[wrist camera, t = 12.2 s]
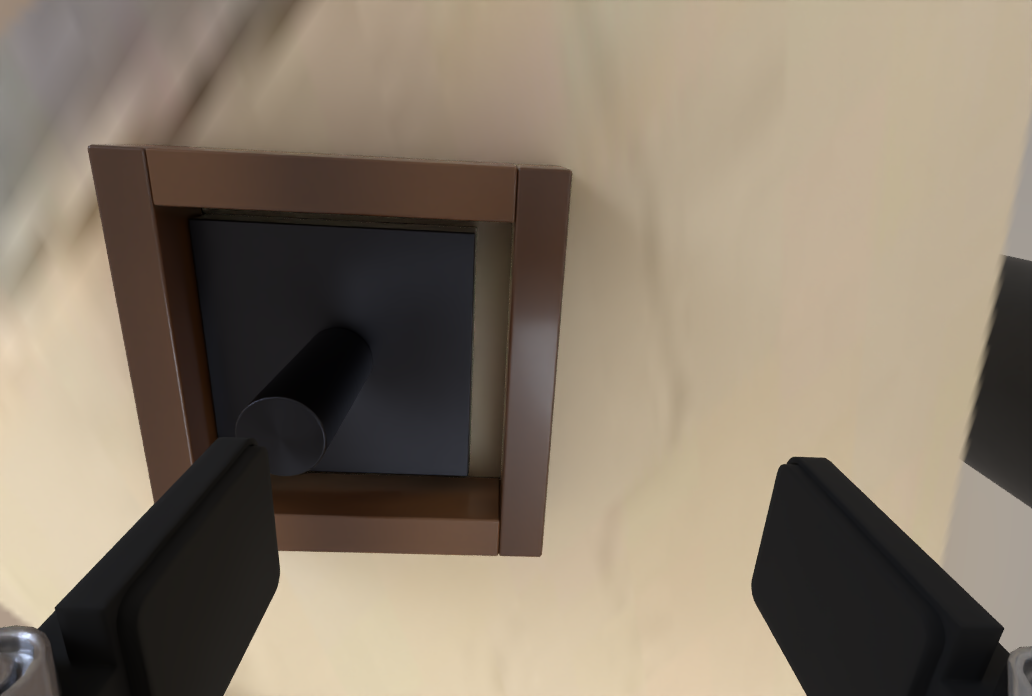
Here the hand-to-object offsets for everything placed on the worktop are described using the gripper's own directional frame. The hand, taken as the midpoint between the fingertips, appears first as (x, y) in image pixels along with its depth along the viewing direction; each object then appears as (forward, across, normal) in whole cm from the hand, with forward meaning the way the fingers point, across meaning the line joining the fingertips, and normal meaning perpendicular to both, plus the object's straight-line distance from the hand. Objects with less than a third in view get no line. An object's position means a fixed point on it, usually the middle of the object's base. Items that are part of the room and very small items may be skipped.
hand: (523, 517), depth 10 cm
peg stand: (+9, +5, 0) cm, 10 cm away
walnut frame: (+9, +5, 0) cm, 10 cm away
